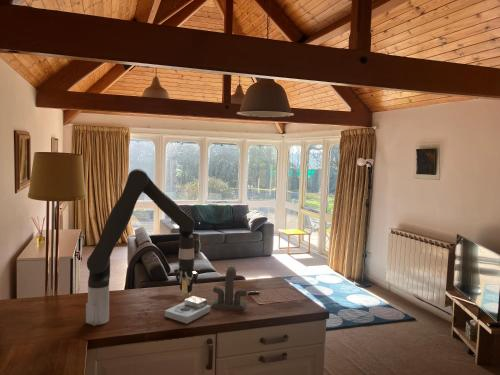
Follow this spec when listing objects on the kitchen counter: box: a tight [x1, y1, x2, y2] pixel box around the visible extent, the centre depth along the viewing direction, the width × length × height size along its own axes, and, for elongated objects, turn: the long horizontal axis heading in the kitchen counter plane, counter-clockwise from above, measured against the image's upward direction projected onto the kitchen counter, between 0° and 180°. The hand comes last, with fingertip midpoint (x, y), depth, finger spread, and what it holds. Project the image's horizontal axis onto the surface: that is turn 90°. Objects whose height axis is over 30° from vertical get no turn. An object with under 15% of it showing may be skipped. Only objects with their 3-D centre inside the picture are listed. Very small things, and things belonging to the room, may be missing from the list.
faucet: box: [210, 265, 248, 311], centre depth 211 cm, size 18×16×20 cm
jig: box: [164, 301, 211, 324], centre depth 196 cm, size 18×14×3 cm
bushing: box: [181, 278, 191, 297], centre depth 193 cm, size 4×4×8 cm
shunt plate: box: [183, 295, 208, 308], centre depth 201 cm, size 7×9×2 cm
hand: (185, 290), depth 193 cm, fingers closed on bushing, 4 cm apart
